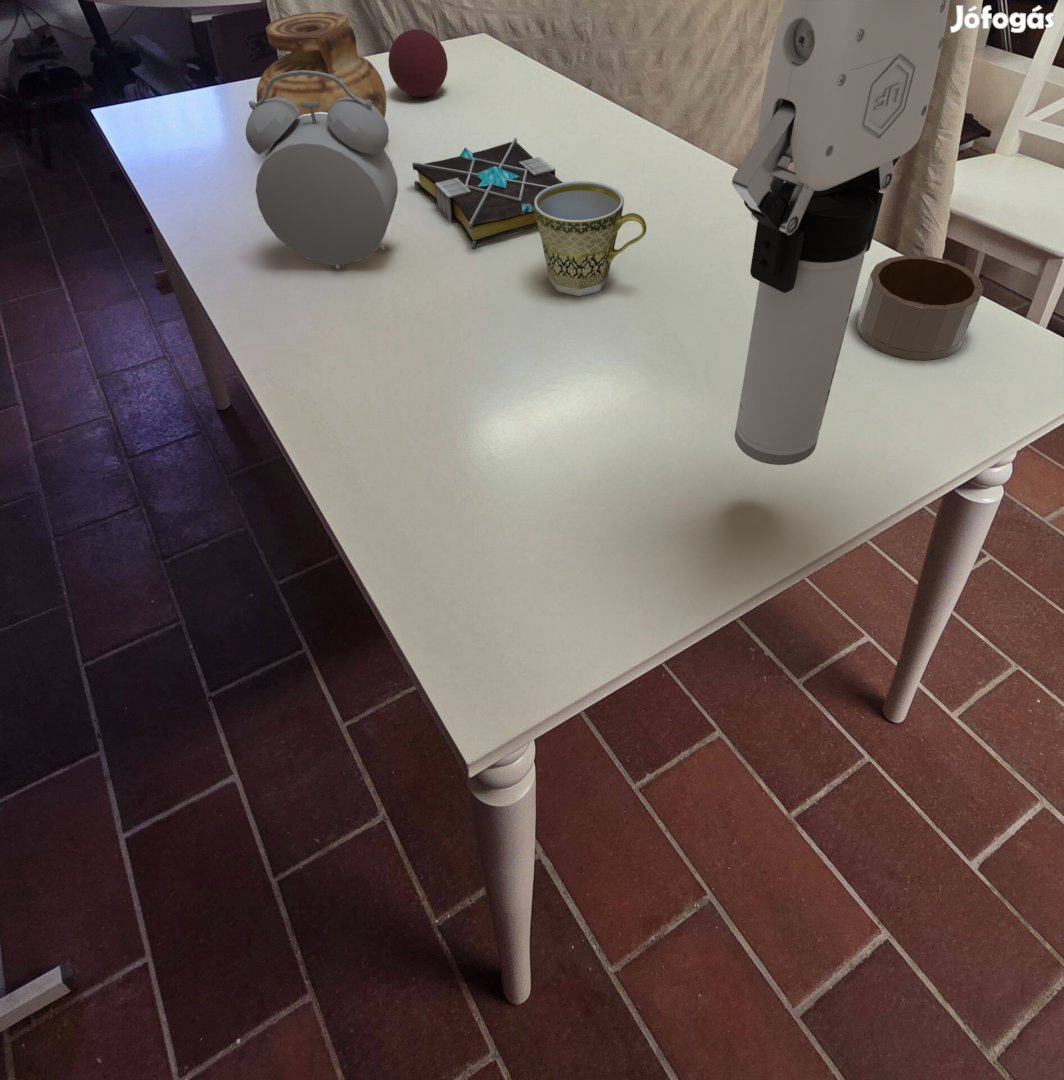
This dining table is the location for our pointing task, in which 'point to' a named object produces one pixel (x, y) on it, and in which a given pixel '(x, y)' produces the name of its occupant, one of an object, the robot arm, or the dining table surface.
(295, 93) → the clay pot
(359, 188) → the alarm clock
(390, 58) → the decorative ball
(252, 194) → the dining table surface
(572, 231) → the ceramic cup
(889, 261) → the holder
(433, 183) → the book
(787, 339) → the travel mug
